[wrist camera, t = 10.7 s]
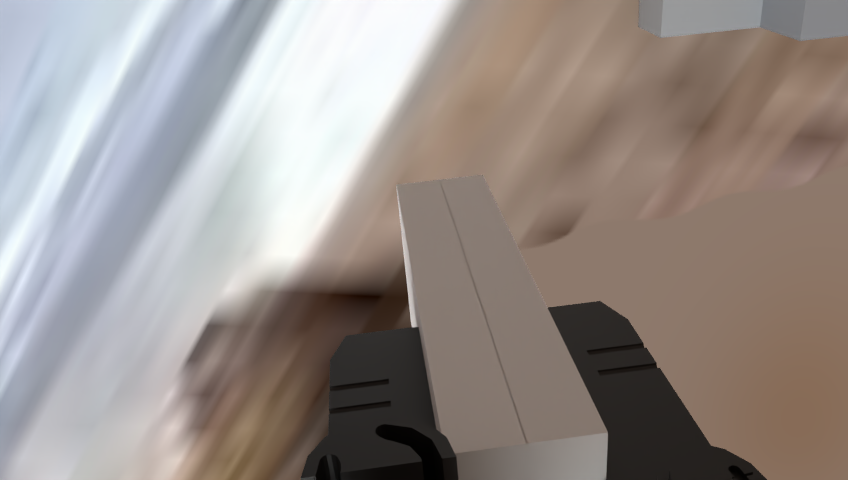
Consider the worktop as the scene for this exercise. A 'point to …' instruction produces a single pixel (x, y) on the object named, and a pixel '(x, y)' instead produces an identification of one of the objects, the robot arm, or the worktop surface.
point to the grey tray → (745, 17)
